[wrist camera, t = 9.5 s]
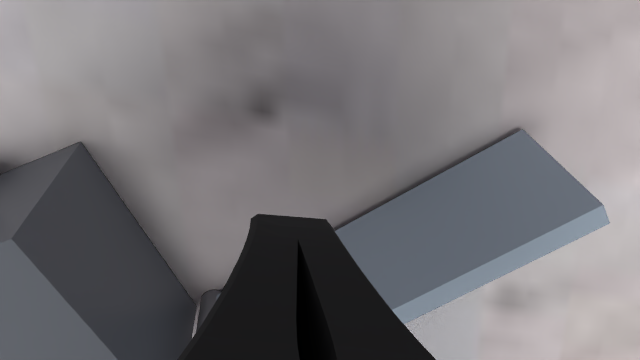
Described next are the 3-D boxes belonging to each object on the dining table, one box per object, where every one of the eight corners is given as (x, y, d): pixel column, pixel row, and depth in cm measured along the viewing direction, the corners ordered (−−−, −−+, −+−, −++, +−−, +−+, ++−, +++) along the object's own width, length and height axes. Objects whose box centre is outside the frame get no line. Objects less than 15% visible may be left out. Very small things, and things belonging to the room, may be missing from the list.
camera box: (196, 306, 23) (174, 443, 18) (60, 355, 24) (-3, 502, 18) (67, 123, 18) (-21, 229, 13) (-98, 191, 19) (-252, 321, 13)
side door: (222, 324, 24) (210, 445, 19) (195, 297, 23) (175, 417, 18) (533, 159, 21) (621, 248, 16) (517, 122, 20) (605, 203, 15)
